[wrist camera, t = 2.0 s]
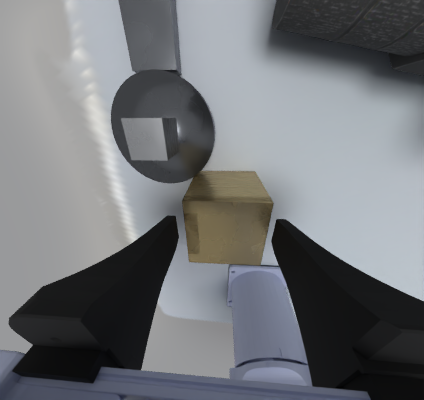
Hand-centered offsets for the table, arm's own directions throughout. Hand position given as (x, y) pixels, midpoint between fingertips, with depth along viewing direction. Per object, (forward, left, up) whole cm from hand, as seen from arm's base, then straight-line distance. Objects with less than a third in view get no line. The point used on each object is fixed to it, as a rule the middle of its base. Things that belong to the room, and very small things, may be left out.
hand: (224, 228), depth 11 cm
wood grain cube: (0, 0, -5) cm, 5 cm away
